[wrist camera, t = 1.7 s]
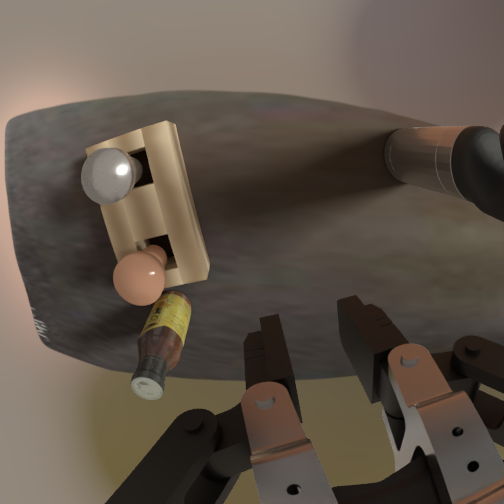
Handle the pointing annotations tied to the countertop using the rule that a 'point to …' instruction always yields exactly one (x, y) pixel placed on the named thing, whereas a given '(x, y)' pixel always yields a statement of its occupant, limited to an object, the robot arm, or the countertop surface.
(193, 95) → the countertop surface
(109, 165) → the grey peg
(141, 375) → the sauce bottle
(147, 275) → the terracotta peg
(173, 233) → the beech block
